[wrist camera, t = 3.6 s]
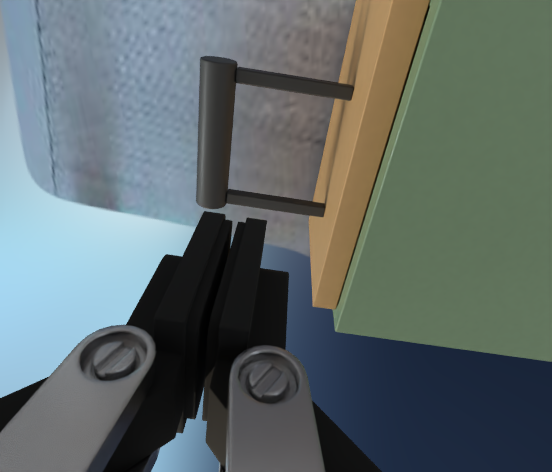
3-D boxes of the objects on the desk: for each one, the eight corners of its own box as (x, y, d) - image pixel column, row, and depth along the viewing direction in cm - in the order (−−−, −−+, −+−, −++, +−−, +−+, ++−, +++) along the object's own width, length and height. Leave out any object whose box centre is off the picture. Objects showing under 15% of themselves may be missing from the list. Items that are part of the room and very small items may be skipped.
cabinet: (322, 223, 28) (334, 332, 19) (380, -15, 20) (450, -30, 11) (579, 261, 28) (714, 384, 19) (734, 45, 20) (1087, 79, 11)
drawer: (213, 206, 26) (179, 288, 19) (226, -27, 19) (179, -47, 12) (561, 257, 27) (662, 355, 20) (700, 52, 20) (945, 82, 12)
